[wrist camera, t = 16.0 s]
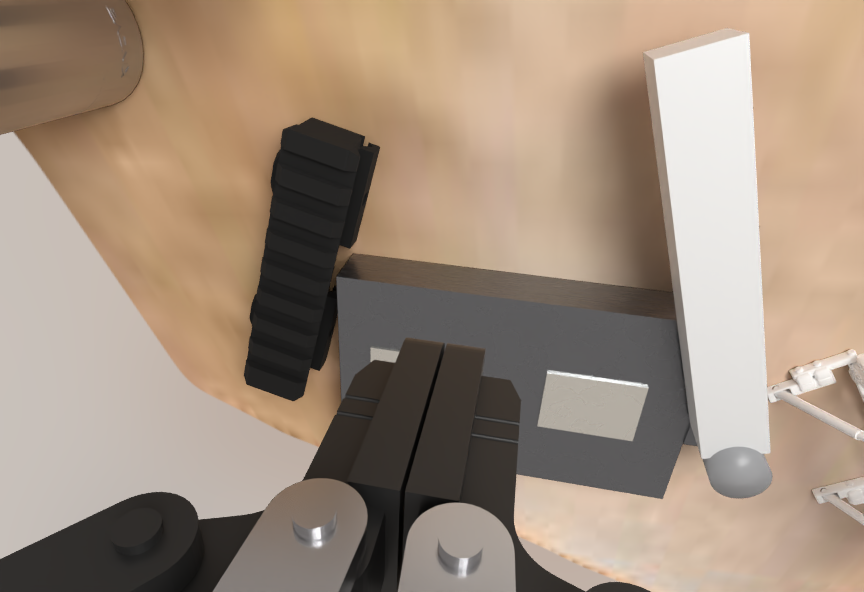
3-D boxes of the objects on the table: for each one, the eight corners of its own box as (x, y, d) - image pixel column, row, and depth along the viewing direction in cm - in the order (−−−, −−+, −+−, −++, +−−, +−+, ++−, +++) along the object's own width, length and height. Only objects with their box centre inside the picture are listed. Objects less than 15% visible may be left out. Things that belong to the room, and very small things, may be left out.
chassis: (357, 413, 51) (342, 446, 47) (353, 253, 43) (335, 278, 39) (703, 469, 47) (716, 510, 43) (769, 304, 39) (792, 336, 35)
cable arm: (754, 447, 39) (776, 495, 36) (693, 452, 41) (708, 500, 37) (727, 27, 28) (755, 34, 24) (642, 52, 29) (656, 62, 25)
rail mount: (295, 104, 39) (263, 119, 34) (384, 136, 38) (363, 155, 34) (255, 343, 49) (227, 377, 45) (324, 368, 49) (303, 405, 45)
